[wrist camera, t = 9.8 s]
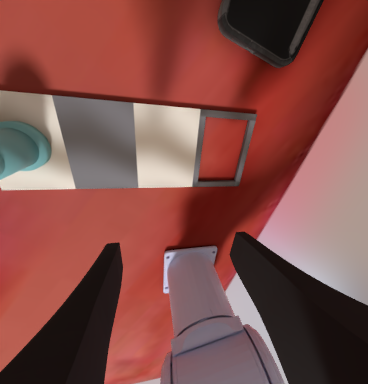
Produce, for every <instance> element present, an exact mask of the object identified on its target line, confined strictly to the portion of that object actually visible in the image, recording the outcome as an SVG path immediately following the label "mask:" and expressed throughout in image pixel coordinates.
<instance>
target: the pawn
mask: <svg viewBox="0 0 368 384" xmlns="http://www.w3.org/2000/svg"><path fill="white" fill-rule="evenodd" d="M51 153H52V151H51V146H50V143H49V141H48V140H47V138H46V137H45V136H44V135H43V134H42V133H41V132H40V131H39V130H38V129H36V128H35V127H33V126H31V125H29V124H27V123H24V122H20V121H4V122H0V180H1V179H3V178H5V177H8V176H10V175H12V174H14V173H16V172H18V171H32V170H35V169H37V168H39V167H41V166H43V165H45V164H46V163H47V162H48V161H49V160H50V158H51Z"/></svg>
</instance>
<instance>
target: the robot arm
mask: <svg viewBox="0 0 368 384" xmlns="http://www.w3.org/2000/svg"><path fill="white" fill-rule="evenodd" d="M216 253H217V247H216V246H207V247H198V248H188V249H178V250H169V251H166V252H165V253H164V281H163V292H164V293H169V296H170V305H171V313H172V322H173V330H174V338H173V339H171V348H172V352H169V353H167V355H166V357H165V360H164V363H163V365H162V369H161V384H284V381H283V379H282V376H281V374H280V372H279V369H278V367H277V365H276V363H275V361H274V359H273V357H272V355H271V353H270V351H269V349H268V347H267V346H266V344H265V342H264V340H263V339H262V337H261V336H260V334H259V333H258V332H257V331H256V330H255V329H253V328H252V327H251V326H250V325H248V324H246V325H242V323H241V321H240V318H239V316H235V315H234V313H233V310H232V308H231V306H230V304H229V301H228V299H227V296H226V294H225V291H224V289H223V287H222V284H221V282H220V280H219V277H218V275H217V273H216V270H215V268H214V261H215V257H216ZM167 256H168V257H167ZM230 257H231V260H232V262H233V265H234V267H235V270H236V272H237V273H238V275H239V277H240V279H241V280H242V283H243V285H244V286H245V288H246V290H247V292H248V293H249V295H250V297H251V299H252V301H253V303H254V304H255V306H256V308H257V310H258V312H259V314H260V316H261V318H262V320H263V323H264V325H265V327H266V330H267V332H268V334H269V336H270V338H271V341H272V343H273V346H274V348H275V351H276V353H277V355H278V358H279V360H280V363H281V365H282V368H283V370H284V373H285V376H286V378H287V381H288V383H289V384H368V305H365V304H363V303H361V302H359V301H357V300H355V299H353V298H351V297H349V296H347V295H345V294H343V293H341V292H339V291H337V290H335V289H333V288H331V287H329V286H327V285H326V284H324V283H322V282H320V281H319V280H317V279H315V278H313V277H311V276H310V275H308V274H306V273H305V272H303V271H301V270H300V269H298V268H297V267H295V266H294V265H292V264H290V263H289V262H287V261H286V260H284V259H283V258H281V257H280V256H278V255H277V254H276V253H274V252H273V251H271V250H270V249H268V248H267V247H266V246H264V245H263V244H261V243H260V242H259V241H257V240H256V239H254V238H253V237H252V236H250V235H249V234H247V233H246V232H236V234H235V238H234V241H233V245H232V248H231V251H230ZM122 272H123V264H122V257H121V251H120V244H119V243H109V244H107V245H106V246H105V247H104V249H103V250H102V252H101V254H100V255H99V257H98V258H97V260H96V261H95V262H94V264H93V265H92V267H91V268H90V270H89V271H88V272H87V274H86V275H85V276H84V278H83V279H82V281H81V282H80V283H79V284H78V286H77V287H76V288H75V290H74V291H73V292H72V293H71V295H70V296H69V297H68V298H67V300H66V301H65V302H64V303H63V305H62V306H61V307H60V308H59V309H58V310H57V312H56V313H55V314H54V315H53V316H52V317H51V319H50V320H49V321H48V322H47V323H46V324H45V325H44V326H43V328H42V329H41V330H40V331H39V332H38V333H37V334H36V335H35V336H34V337H33V338H32V340H31V341H30V342H29V343H28V344H27V345H26V346H25V347H24V348H23V349H22V350H21V351H20V352H19V353H18V354H17V355H16V357H15V358H14V359H13V360H12V361H11V362H10V363H9V364H8V365H7V366H6V367H5V368H4V369H3V370H2V371H1V372H0V384H104V379H105V371H106V363H107V356H108V348H109V343H110V337H111V332H112V327H113V323H114V318H115V313H116V308H117V303H118V299H119V294H120V289H121V282H122Z"/></svg>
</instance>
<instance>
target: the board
mask: <svg viewBox="0 0 368 384" xmlns="http://www.w3.org/2000/svg"><path fill="white" fill-rule="evenodd" d="M206 117H215V118H227V119H239V120H248V123H247V127H246V131H245V135H244V140H243V144H242V148H241V152H240V157H239V161H238V165H237V169H236V174H235V178H234V180H219V181H198V176H199V168H200V160H201V152H202V144H203V136H204V128H205V120H206ZM256 117H257V114H248V113H237V112H226V111H216V110H205V109H194V108H183V107H173V106H162V105H151V104H141V103H130V102H119V101H108V100H98V99H87V98H76V97H66V96H55V95H44V94H33V93H23V92H12V91H1V90H0V122H4V121H20V122H24V123H27V124H29V125H31V126H33V127H35V128H36V129H38V130H39V131H40V132H41V133H42V134H43V135H44V136H45V137H46V138H47V140H48V141H49V143H50V146H51V151H52V153H51V158H50V160H49V161H48V162H47V163H46V164H45V165H43V166H41V167H39V168H37V169H35V170H32V171H18V172H16V173H14V174H12V175H10V176H8V177H5V178H3V179H1V180H0V187H1V189H2V190H43V189H100V188H156V187H213V186H239V183H240V179H241V175H242V172H243V168H244V164H245V160H246V156H247V152H248V148H249V144H250V140H251V136H252V132H253V128H254V125H255V121H256Z"/></svg>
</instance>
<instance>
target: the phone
mask: <svg viewBox="0 0 368 384" xmlns="http://www.w3.org/2000/svg"><path fill="white" fill-rule="evenodd" d="M323 1H324V0H222V2H221V5H220V8H219V12H218V27H219V30H220V32H221V34H222V35H223V36H225V37H226V38H227V39H229V40H231V41H232V42H234V43H236V44H237V45H239V46H241V47H242V48H244V49H246V50H247V51H249V52H251V53H252V54H254V55H256V56H257V57H259V58H261V59H262V60H264V61H266V62H267V63H269V64H270V65H272V66H274V67H276V68H280V67H284V66H287V65H289V64H290V63H291V62H292V61H293V60H294V59H295V57H296V56H297V54H298V52H299V50H300V48H301V46H302V44H303V42H304V40H305V38H306V36H307V33H308V31H309V29H310V27H311V25H312V23H313V21H314V19H315V17H316V15H317V13H318V11H319V9H320V7H321V5H322V3H323ZM232 39H233V40H232ZM249 48H250V49H249ZM254 51H255V52H254Z"/></svg>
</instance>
